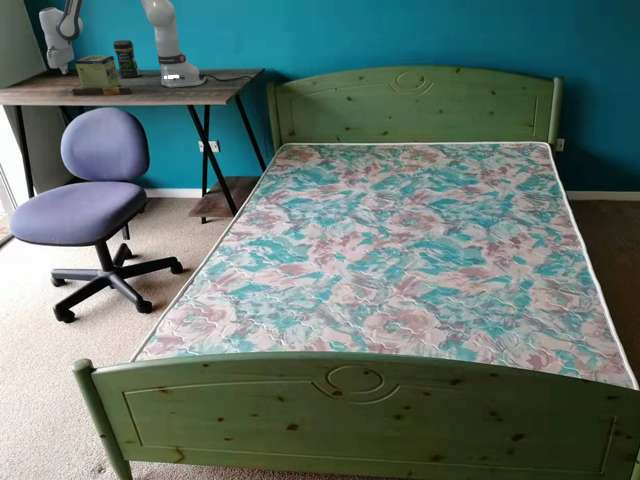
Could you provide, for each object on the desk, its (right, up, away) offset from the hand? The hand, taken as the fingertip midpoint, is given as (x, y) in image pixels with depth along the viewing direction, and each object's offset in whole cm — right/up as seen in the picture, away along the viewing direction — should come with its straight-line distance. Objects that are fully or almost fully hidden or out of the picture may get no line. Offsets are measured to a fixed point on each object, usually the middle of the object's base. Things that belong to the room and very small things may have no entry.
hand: (65, 73), depth 297 cm
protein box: (+16, -7, +5) cm, 18 cm away
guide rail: (+19, -11, -2) cm, 22 cm away
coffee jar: (+22, +7, +26) cm, 35 cm away
